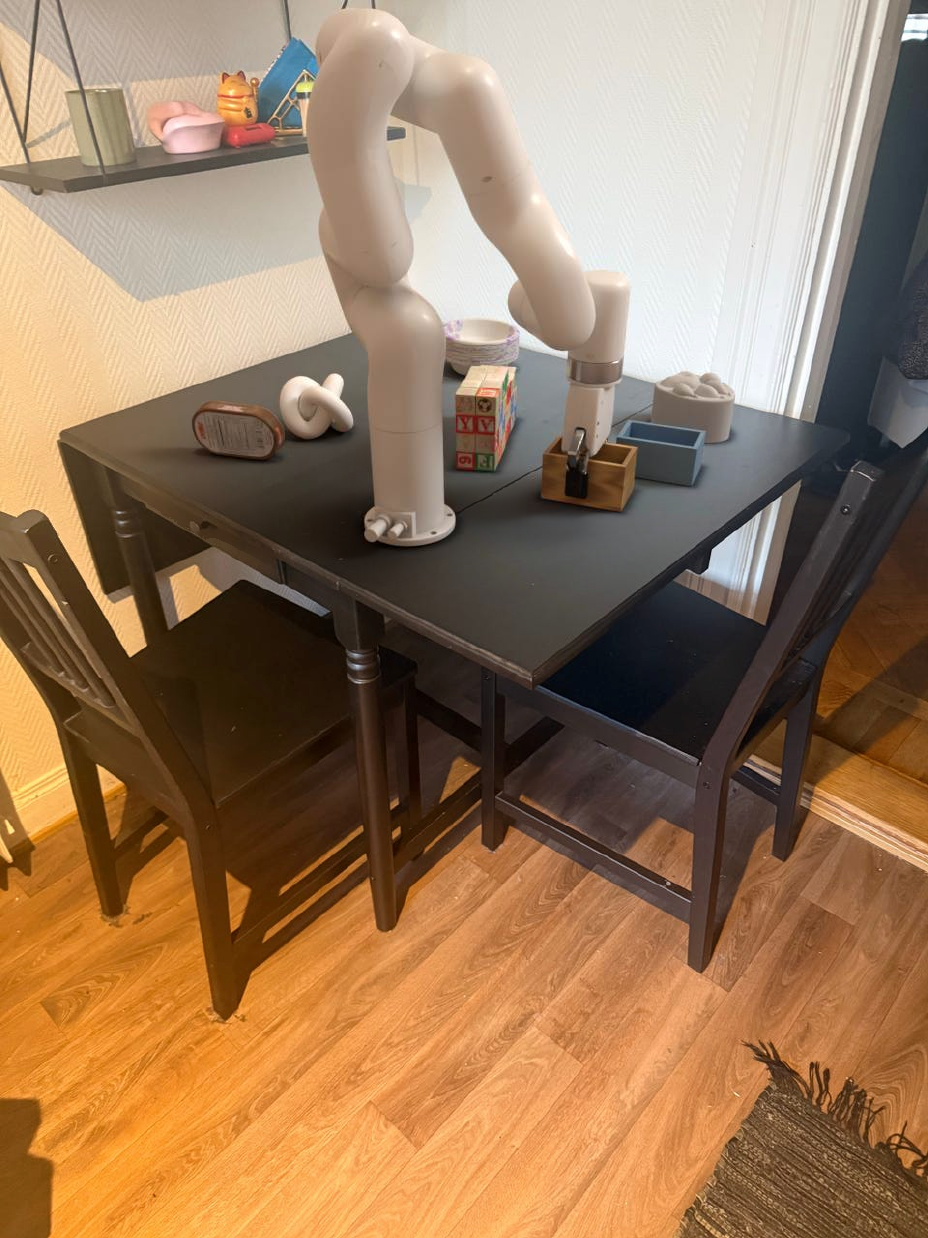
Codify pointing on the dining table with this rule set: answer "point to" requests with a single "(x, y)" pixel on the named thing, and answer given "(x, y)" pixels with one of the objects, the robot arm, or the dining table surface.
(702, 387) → the lumpy-topped squat cylinder
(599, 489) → the wooden basket
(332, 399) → the white knot sculpture
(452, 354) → the paper bowls
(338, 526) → the dining table surface
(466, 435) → the stack of blocks
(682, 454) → the blue basket
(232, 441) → the tin
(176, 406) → the dining table surface
